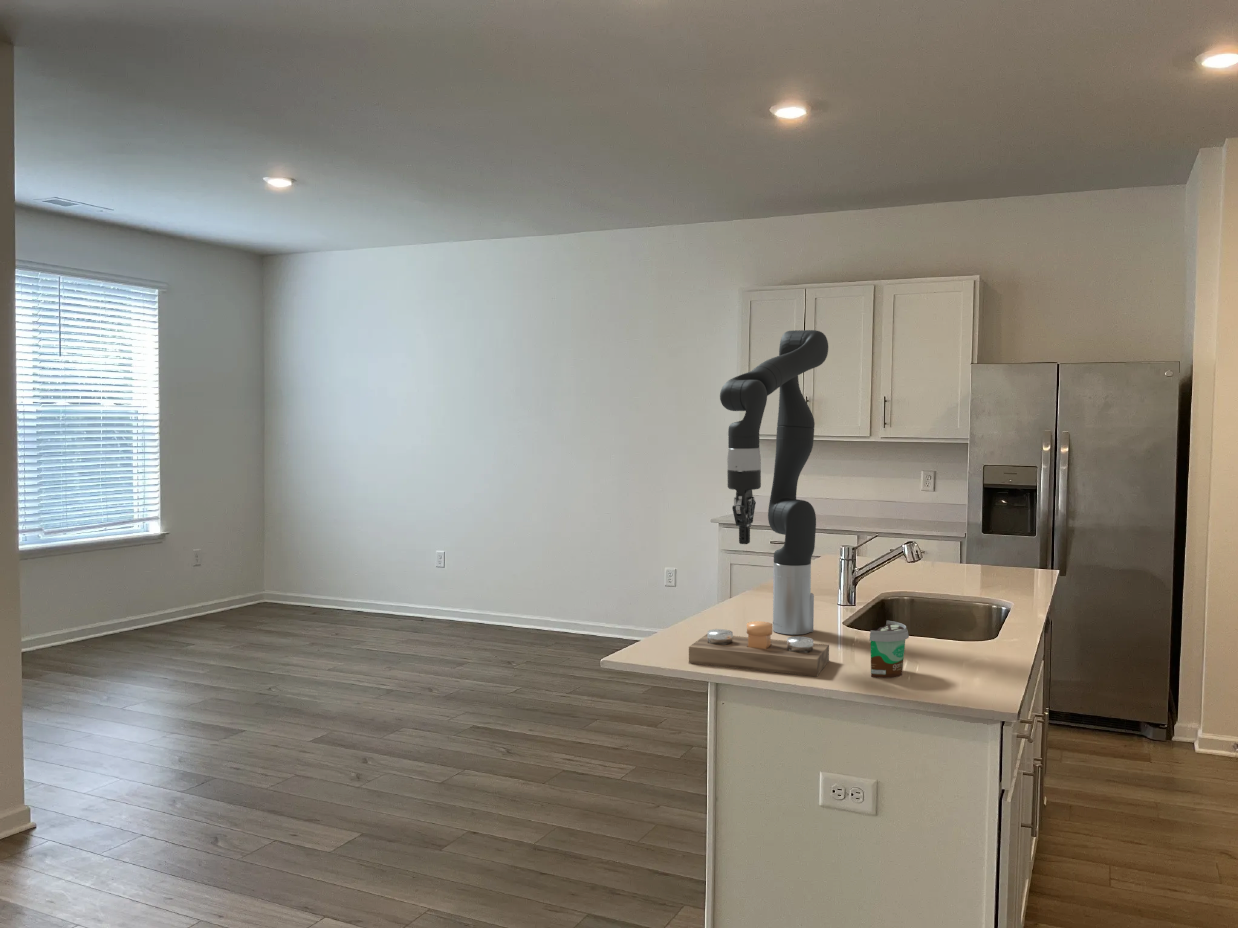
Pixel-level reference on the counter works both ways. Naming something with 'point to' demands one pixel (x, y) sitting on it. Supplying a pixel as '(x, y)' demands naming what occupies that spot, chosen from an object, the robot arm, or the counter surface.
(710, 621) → the counter surface
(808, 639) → the knob
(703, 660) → the knob mount
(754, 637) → the knob mid
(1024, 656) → the counter surface
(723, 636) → the knob
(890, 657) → the food container
